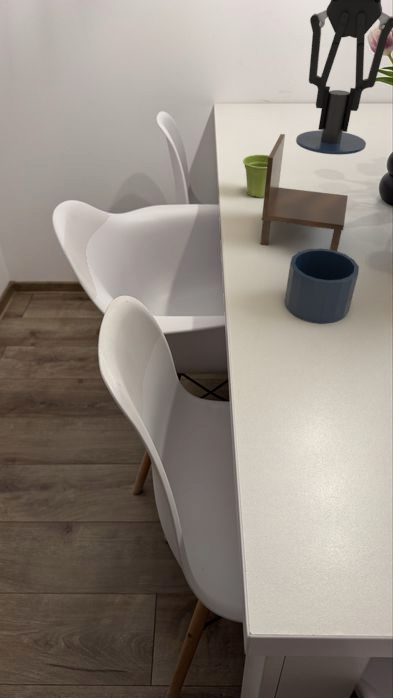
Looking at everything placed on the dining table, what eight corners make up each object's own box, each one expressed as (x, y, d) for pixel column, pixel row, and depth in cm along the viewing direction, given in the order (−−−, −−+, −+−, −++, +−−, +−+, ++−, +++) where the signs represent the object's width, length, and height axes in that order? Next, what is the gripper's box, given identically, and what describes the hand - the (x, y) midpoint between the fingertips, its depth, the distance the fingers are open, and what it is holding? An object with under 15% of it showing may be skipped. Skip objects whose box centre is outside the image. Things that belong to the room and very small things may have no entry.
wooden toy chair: (341, 223, 115) (359, 141, 103) (337, 255, 104) (356, 166, 91) (271, 214, 119) (280, 133, 107) (259, 244, 107) (268, 157, 95)
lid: (364, 139, 93) (376, 87, 87) (364, 161, 84) (377, 104, 78) (299, 133, 96) (306, 82, 90) (291, 154, 86) (299, 98, 81)
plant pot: (251, 203, 124) (254, 169, 119) (234, 189, 131) (236, 157, 125) (282, 197, 127) (287, 164, 122) (264, 184, 134) (267, 152, 128)
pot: (349, 293, 93) (359, 253, 87) (346, 328, 84) (357, 287, 79) (289, 283, 95) (295, 244, 90) (280, 317, 87) (286, 276, 81)
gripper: (304, -37, 72) (284, 130, 87) (422, -35, 68) (380, 138, 83) (308, -38, 77) (289, 119, 92) (418, -36, 74) (380, 126, 89)
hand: (332, 128), depth 88 cm, fingers closed on lid, 4 cm apart
